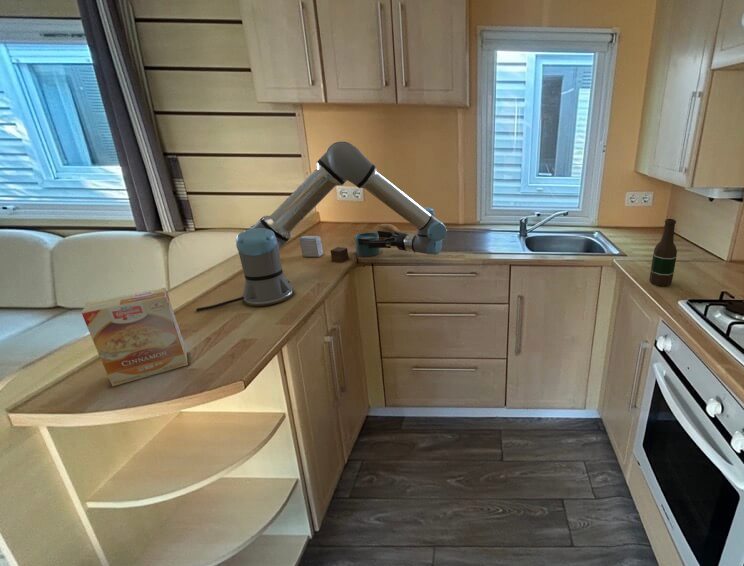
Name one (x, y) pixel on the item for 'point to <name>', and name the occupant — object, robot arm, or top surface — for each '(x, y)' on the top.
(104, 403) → the top surface
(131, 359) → the coffeecake box
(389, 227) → the bread roll
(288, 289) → the robot arm
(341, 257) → the block
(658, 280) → the beer bottle
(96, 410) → the top surface
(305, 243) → the medicine box
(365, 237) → the teal blue cylinder
